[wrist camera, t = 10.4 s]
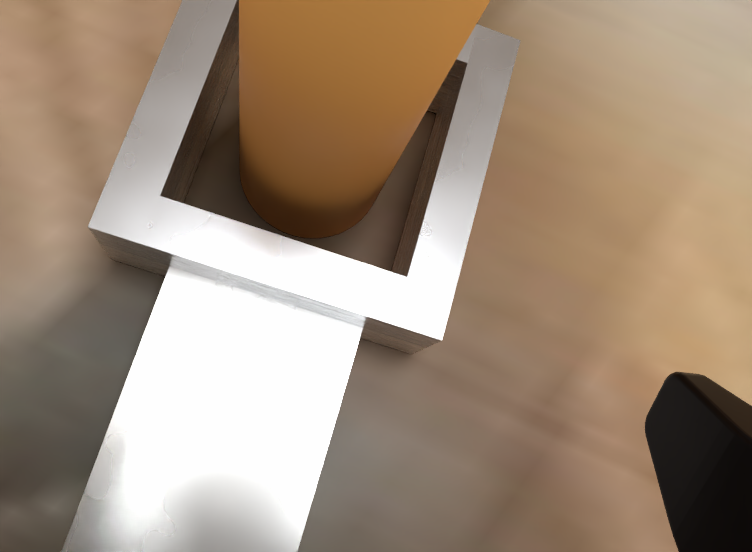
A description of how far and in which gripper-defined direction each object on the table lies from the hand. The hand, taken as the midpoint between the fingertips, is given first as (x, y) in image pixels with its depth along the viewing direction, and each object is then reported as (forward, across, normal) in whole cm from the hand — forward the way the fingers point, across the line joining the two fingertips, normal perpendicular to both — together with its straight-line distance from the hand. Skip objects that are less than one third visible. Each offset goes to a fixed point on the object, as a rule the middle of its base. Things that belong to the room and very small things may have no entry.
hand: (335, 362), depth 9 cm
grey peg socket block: (+12, 0, +2) cm, 12 cm away
